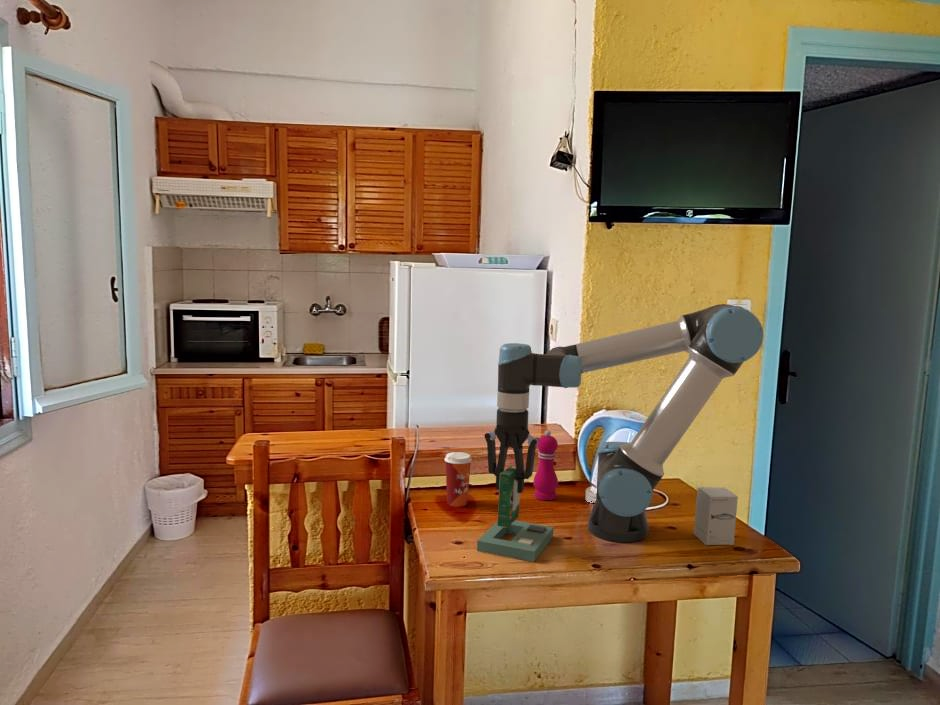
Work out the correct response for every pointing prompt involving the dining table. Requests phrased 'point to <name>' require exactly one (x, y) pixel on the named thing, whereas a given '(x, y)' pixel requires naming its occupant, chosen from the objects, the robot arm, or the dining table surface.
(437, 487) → the dining table surface
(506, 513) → the coffee box
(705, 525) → the supplement box
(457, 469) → the paper cup
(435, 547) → the dining table surface
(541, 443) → the pepper mill
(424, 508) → the dining table surface
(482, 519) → the dining table surface
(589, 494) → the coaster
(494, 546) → the socket board
